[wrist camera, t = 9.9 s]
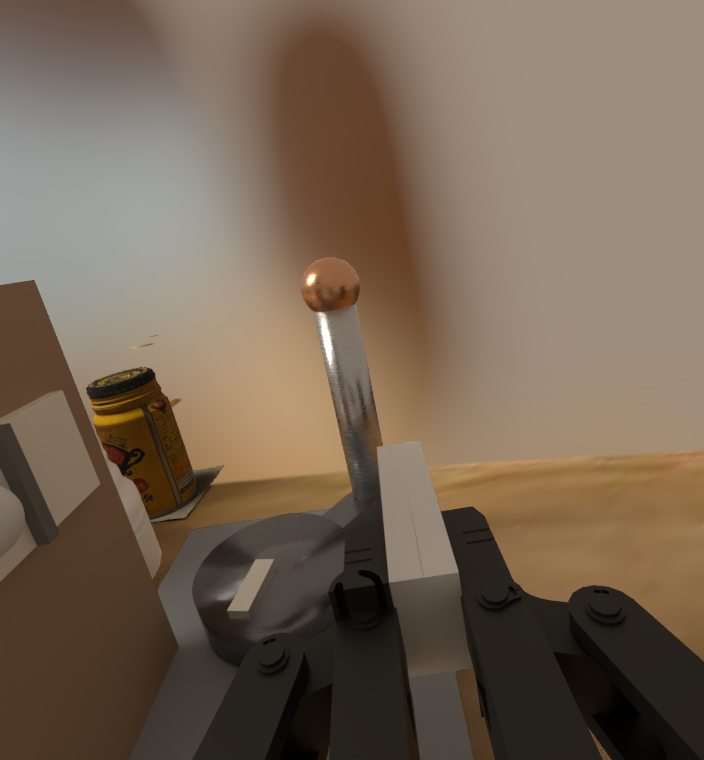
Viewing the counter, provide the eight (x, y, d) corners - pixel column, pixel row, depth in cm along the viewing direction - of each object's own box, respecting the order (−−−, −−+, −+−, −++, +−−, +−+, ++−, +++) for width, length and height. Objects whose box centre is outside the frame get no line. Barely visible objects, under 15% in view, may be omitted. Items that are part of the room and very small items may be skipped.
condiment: (107, 527, 39) (53, 396, 36) (159, 475, 47) (119, 364, 44) (186, 520, 38) (138, 383, 34) (225, 468, 46) (190, 352, 42)
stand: (-19, 989, 14) (-511, 372, 8) (199, 553, 33) (101, 271, 27) (511, 948, 13) (395, 184, 7) (422, 519, 32) (370, 217, 26)
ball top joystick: (376, 674, 19) (285, 281, 14) (175, 666, 22) (38, 326, 17) (403, 500, 31) (358, 250, 26) (270, 507, 33) (206, 279, 28)
